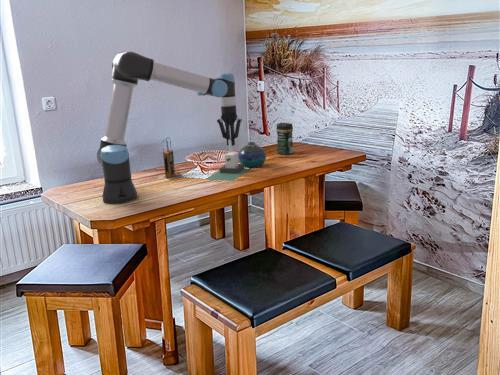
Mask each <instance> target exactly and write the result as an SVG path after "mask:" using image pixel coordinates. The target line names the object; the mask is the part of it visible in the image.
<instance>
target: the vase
mask: <svg viewBox="0 0 500 375" xmlns="http://www.w3.org/2000/svg"><path fill="white" fill-rule="evenodd" d="M237 153H238V163H239V164H244V168H248V169H254V168H259V167H261V166H263V165H264V164H265V162H266V159H267V153H266V150H265V148H263V147H262V146H260V145H259V144H256V142H254V141H249V142H247V144H246V145H244V146H243V147H241V148H240V149H239V151H238V152H237Z"/></svg>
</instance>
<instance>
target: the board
mask: <svg viewBox="0 0 500 375" xmlns="http://www.w3.org/2000/svg"><path fill="white" fill-rule="evenodd" d="M249 170H250V168H246V167H244V164H240V163H239V166H238V167H237V168H225V164H224V165H223V166H221V167H219V170H218V171H216V172H214V173H213V174H211V175H210V176H208V177H206V178H205V181H206V180H208V181H209V180H210V181H232V182H233V181H235V180H236V179H238V178H239V177H241V176H242V175H244V174H245V173H246V172H247V171H249Z"/></svg>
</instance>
